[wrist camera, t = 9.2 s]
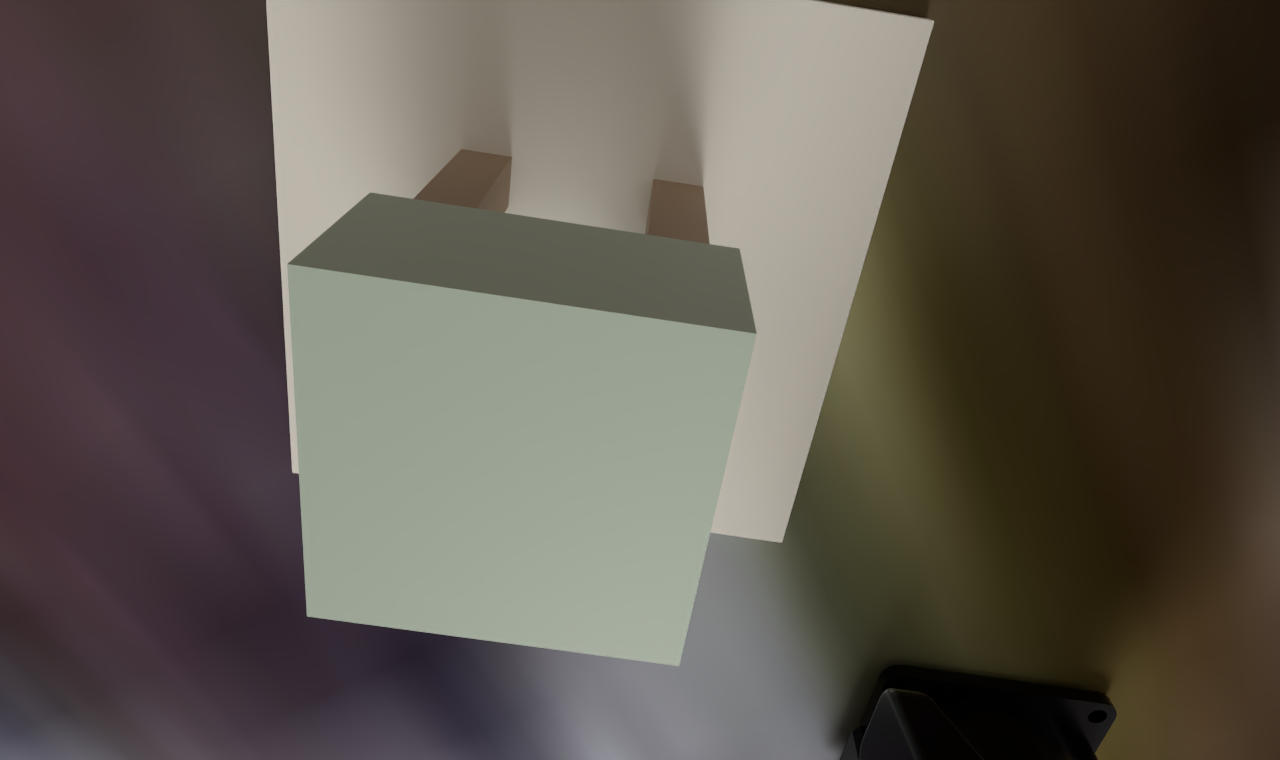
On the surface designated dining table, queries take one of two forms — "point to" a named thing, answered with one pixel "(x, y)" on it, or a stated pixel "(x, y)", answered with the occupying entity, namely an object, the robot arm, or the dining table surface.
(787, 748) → the dining table surface
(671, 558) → the stool
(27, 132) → the dining table surface
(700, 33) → the mat
